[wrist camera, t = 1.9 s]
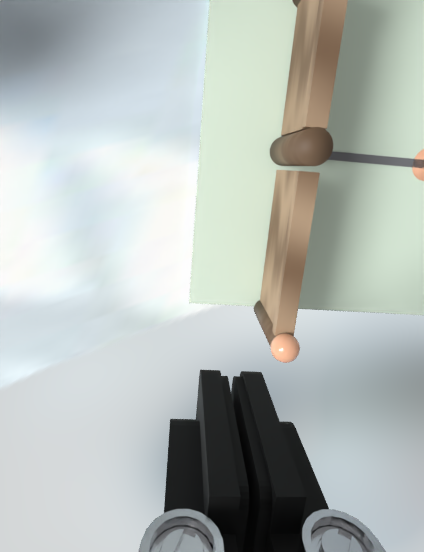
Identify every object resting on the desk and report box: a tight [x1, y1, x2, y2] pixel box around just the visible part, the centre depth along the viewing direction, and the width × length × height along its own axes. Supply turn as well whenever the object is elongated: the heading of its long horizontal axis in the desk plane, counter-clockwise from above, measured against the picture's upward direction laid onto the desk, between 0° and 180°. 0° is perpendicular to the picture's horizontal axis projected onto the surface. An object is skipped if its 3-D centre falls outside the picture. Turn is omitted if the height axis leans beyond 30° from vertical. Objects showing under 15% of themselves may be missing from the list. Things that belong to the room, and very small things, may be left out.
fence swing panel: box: [254, 170, 320, 363], centre depth 24 cm, size 12×2×8 cm, turn 175°
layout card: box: [189, 0, 424, 315], centre depth 27 cm, size 23×20×1 cm
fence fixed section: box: [270, 0, 348, 166], centre depth 21 cm, size 11×2×7 cm, turn 175°
